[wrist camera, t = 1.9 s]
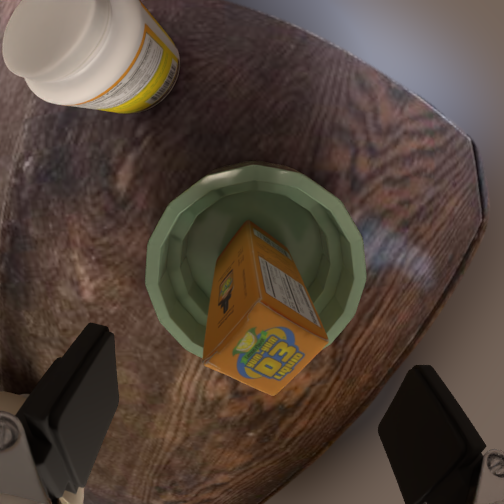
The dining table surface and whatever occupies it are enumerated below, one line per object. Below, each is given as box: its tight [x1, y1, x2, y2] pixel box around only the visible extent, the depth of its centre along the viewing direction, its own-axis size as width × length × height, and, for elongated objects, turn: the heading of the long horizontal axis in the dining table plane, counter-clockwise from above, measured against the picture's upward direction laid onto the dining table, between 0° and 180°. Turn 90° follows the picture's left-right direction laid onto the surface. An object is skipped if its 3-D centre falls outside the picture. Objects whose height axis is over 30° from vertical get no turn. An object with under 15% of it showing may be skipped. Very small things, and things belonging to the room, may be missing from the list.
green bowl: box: [145, 160, 366, 358], centre depth 18 cm, size 11×11×4 cm
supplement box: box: [202, 220, 329, 396], centre depth 15 cm, size 3×3×10 cm
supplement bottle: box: [2, 0, 180, 114], centre depth 11 cm, size 6×6×10 cm
